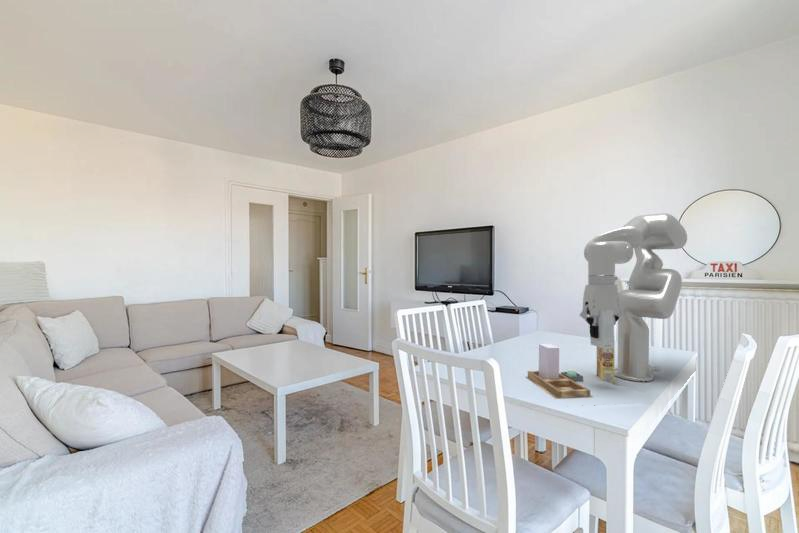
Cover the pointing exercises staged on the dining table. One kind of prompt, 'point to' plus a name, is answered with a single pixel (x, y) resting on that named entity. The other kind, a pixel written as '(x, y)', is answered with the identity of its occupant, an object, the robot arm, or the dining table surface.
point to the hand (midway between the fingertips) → (601, 336)
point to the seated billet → (548, 361)
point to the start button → (571, 373)
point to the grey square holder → (573, 377)
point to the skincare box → (604, 330)
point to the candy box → (605, 364)
